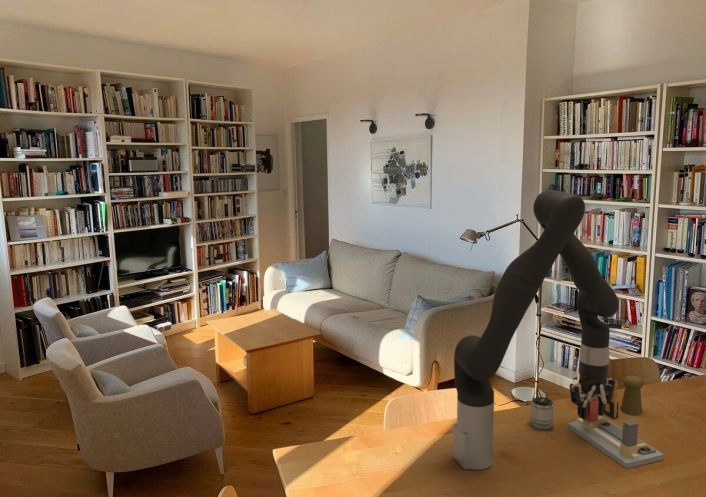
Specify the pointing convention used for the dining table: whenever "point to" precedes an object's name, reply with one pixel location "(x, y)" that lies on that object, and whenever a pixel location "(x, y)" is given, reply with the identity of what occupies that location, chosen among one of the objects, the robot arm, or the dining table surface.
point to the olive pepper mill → (632, 396)
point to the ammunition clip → (611, 404)
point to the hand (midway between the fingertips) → (590, 416)
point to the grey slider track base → (618, 442)
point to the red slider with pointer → (592, 414)
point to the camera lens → (542, 413)
